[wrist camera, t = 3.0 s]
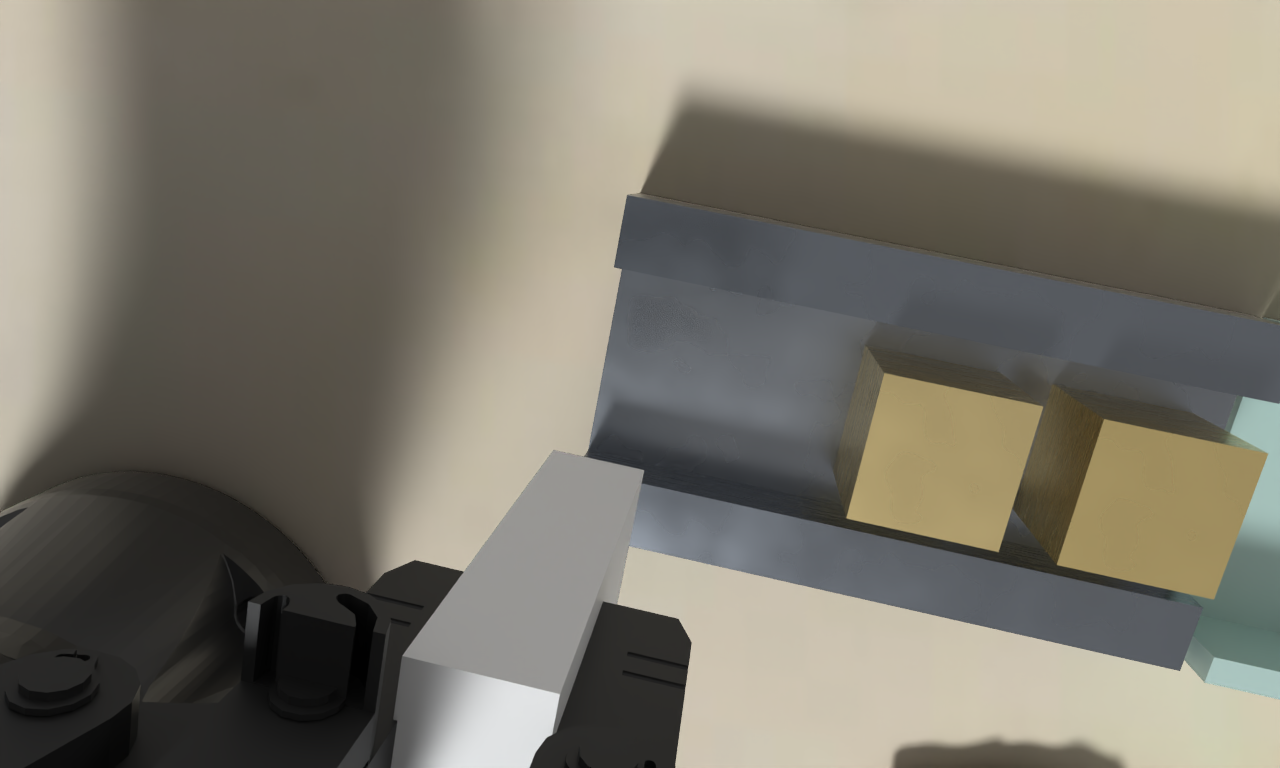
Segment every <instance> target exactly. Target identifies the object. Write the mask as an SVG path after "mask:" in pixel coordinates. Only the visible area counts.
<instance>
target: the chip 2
mask: <svg viewBox="0 0 1280 768" xmlns="http://www.w3.org/2000/svg"><path fill="white" fill-rule="evenodd" d="M1267 456H1268V453H1266V452H1265V451H1263V450H1261V449H1259V448H1257V447H1255V446H1253V445H1252V444H1250V443H1248V442H1246V441H1244V440H1242V439H1240V438H1238V437H1237V436H1235V435H1233V434H1231V433H1229V432H1227V431H1225V430H1224V429H1222V428H1220V427H1218V426H1216V425H1214V424H1212V423H1210V422H1209V421H1207V420H1205V419H1203V418H1201V417H1199V416H1197V415H1196V414H1194V413H1191V412H1186V411H1181V410H1176V409H1171V408H1166V407H1162V406H1157V405H1152V404H1147V403H1142V402H1138V401H1133V400H1128V399H1123V398H1118V397H1113V396H1109V395H1104V394H1099V393H1094V392H1089V391H1085V390H1080V389H1075V388H1070V387H1065V386H1060V385H1056V384H1053V385H1052V388H1051V391H1050V395H1049V398H1048V401H1047V404H1046V407H1045V411H1044V414H1043V417H1042V420H1041V424H1040V427H1039V430H1038V433H1037V437H1036V440H1035V443H1034V446H1033V450H1032V453H1031V456H1030V459H1029V463H1028V466H1027V469H1026V472H1025V476H1024V479H1023V482H1022V485H1021V489H1020V492H1019V495H1018V498H1017V502H1016V505H1015V508H1014V511H1015V513H1016V514H1017V515H1018V517H1019V518H1020V519H1021V520H1022V522H1023V523H1024V524H1025V525H1026V527H1027V528H1028V529H1029V530H1030V532H1031V533H1032V534H1033V536H1034V537H1035V538H1036V539H1037V541H1038V542H1039V543H1040V544H1041V546H1042V547H1043V548H1044V549H1045V551H1046V552H1047V553H1048V555H1049V556H1050V557H1051V558H1052V560H1053V561H1054V562H1055V563H1056V565H1059V566H1064V567H1068V568H1073V569H1077V570H1082V571H1087V572H1091V573H1096V574H1100V575H1105V576H1109V577H1114V578H1118V579H1123V580H1127V581H1132V582H1136V583H1141V584H1145V585H1150V586H1154V587H1159V588H1164V589H1168V590H1173V591H1177V592H1182V593H1186V594H1191V595H1195V596H1200V597H1204V598H1209V599H1213V600H1214V598H1215V595H1216V593H1217V590H1218V587H1219V585H1220V582H1221V579H1222V577H1223V574H1224V571H1225V569H1226V566H1227V563H1228V561H1229V558H1230V555H1231V553H1232V550H1233V547H1234V545H1235V542H1236V539H1237V536H1238V534H1239V531H1240V528H1241V526H1242V523H1243V520H1244V518H1245V515H1246V512H1247V510H1248V507H1249V504H1250V502H1251V499H1252V496H1253V494H1254V491H1255V488H1256V486H1257V483H1258V480H1259V478H1260V475H1261V472H1262V470H1263V467H1264V464H1265V462H1266V459H1267Z"/></svg>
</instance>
